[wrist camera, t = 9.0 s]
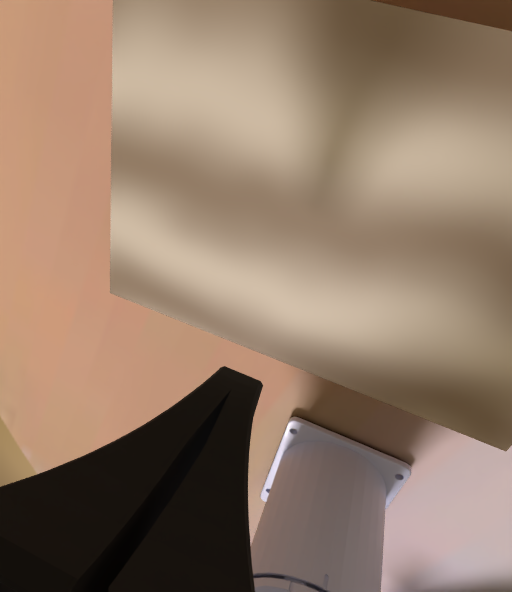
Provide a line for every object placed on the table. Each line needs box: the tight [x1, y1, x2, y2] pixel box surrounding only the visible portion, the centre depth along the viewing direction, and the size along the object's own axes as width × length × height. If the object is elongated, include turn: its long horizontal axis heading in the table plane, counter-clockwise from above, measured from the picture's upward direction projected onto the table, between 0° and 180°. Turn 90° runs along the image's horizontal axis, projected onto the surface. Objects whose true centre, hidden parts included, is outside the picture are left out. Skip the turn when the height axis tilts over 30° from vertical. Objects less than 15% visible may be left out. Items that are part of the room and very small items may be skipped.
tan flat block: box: [110, 0, 512, 451], centre depth 17 cm, size 14×20×4 cm
